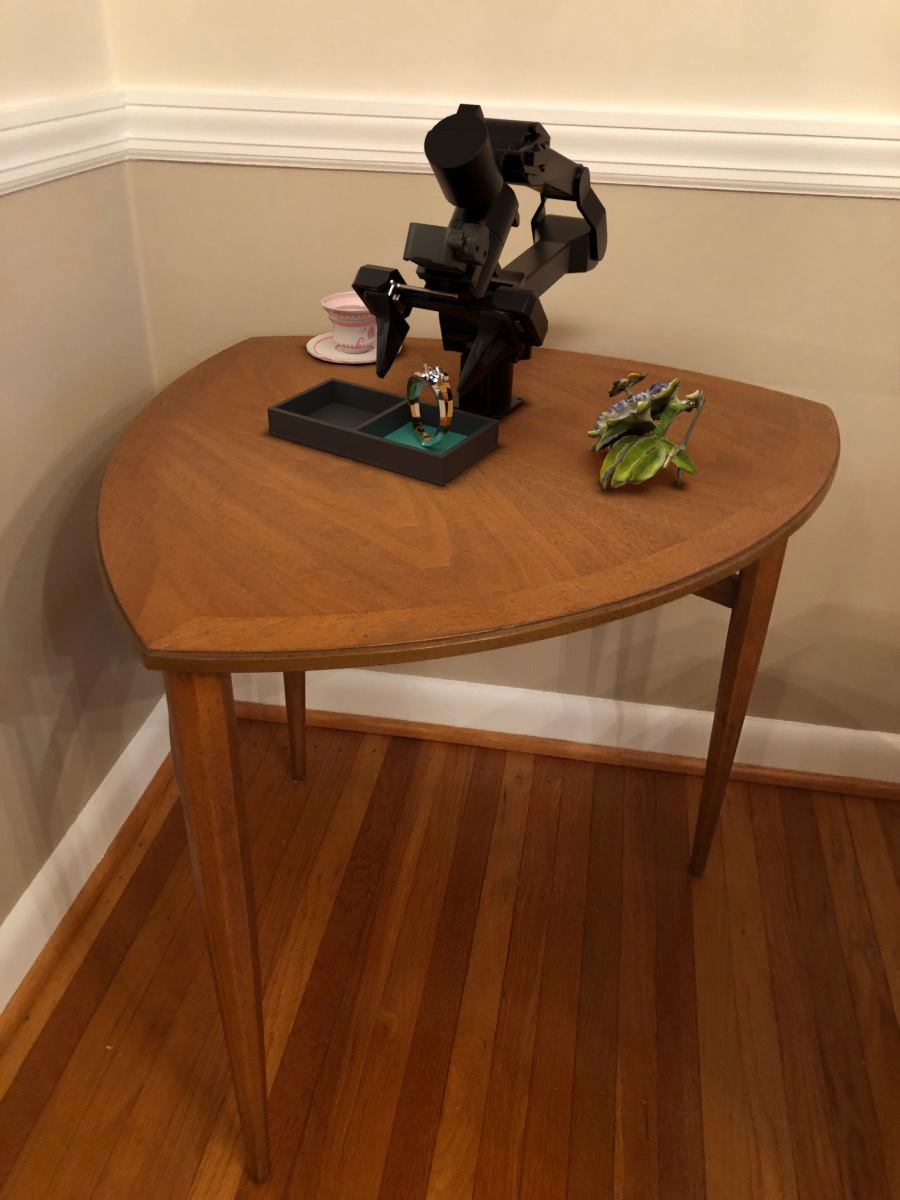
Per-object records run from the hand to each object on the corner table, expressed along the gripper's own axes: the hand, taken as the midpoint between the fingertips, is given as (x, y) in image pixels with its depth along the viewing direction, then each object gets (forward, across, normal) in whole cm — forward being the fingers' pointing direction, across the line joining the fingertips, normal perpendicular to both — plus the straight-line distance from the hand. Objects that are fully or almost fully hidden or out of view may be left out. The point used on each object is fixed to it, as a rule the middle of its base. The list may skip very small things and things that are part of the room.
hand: (418, 384), depth 88 cm
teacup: (-12, -22, +22) cm, 34 cm away
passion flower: (0, +20, +11) cm, 23 cm away
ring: (+4, 0, +6) cm, 7 cm away
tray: (+4, -5, +6) cm, 9 cm away
